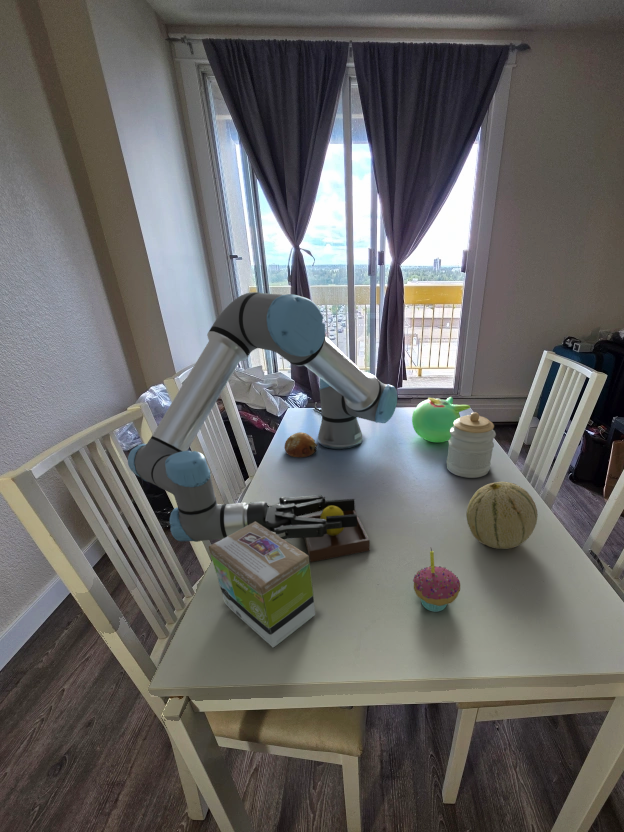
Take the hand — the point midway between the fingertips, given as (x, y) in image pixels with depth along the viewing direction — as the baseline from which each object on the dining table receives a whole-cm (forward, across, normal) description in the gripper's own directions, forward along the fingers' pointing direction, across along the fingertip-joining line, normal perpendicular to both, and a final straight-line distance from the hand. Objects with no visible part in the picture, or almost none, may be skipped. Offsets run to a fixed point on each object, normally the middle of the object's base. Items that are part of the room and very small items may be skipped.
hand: (355, 512), depth 90 cm
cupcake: (+13, +22, -7) cm, 27 cm away
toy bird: (+32, -52, -7) cm, 62 cm away
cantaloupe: (+31, +6, -7) cm, 33 cm away
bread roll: (-14, -48, -7) cm, 51 cm away
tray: (-5, 0, -7) cm, 9 cm away
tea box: (-18, +20, -7) cm, 28 cm away
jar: (+36, -30, -7) cm, 47 cm away
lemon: (-5, 0, -6) cm, 8 cm away
